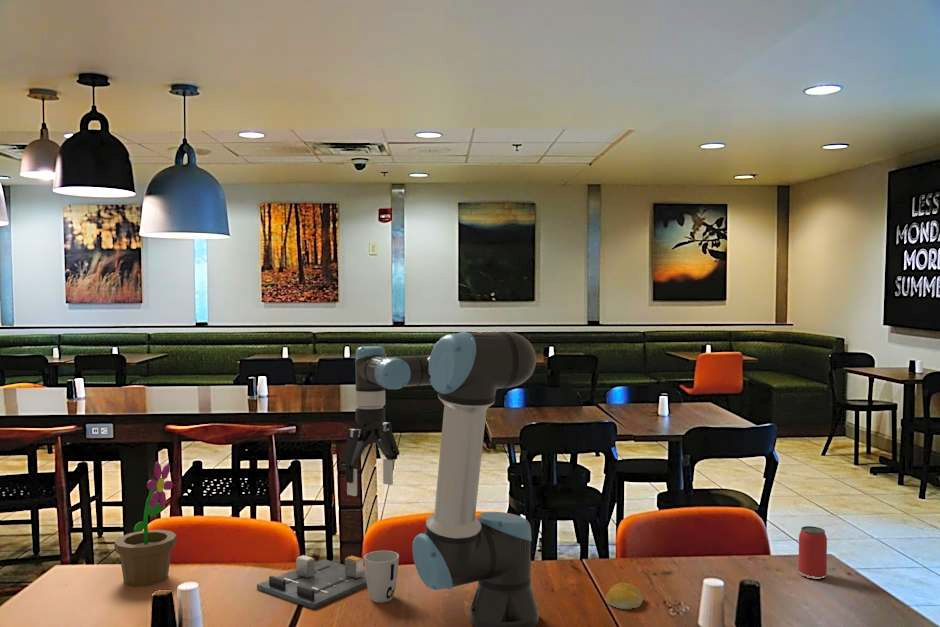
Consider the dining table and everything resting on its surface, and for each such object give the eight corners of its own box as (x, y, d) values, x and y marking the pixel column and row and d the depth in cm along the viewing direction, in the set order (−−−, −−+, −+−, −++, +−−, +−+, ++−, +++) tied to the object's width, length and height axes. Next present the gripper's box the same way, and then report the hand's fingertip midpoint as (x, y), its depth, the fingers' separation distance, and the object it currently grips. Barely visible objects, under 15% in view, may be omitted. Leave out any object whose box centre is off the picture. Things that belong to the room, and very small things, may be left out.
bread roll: (602, 607, 175) (602, 590, 175) (611, 593, 183) (611, 577, 183) (639, 613, 172) (639, 595, 172) (645, 598, 180) (645, 582, 180)
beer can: (799, 579, 193) (800, 531, 192) (796, 570, 199) (797, 524, 199) (828, 581, 191) (829, 534, 190) (824, 572, 197) (825, 526, 197)
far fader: (314, 575, 190) (314, 558, 190) (307, 577, 188) (307, 560, 188) (303, 571, 193) (303, 554, 193) (296, 574, 191) (296, 557, 191)
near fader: (363, 575, 190) (363, 558, 190) (356, 578, 188) (356, 561, 188) (351, 572, 192) (351, 555, 192) (344, 574, 191) (344, 557, 190)
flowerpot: (158, 591, 183) (157, 467, 183) (102, 588, 185) (101, 465, 184) (187, 569, 198) (186, 454, 197) (135, 567, 199) (134, 453, 199)
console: (379, 580, 191) (379, 567, 191) (313, 609, 173) (313, 595, 173) (324, 563, 202) (324, 551, 202) (256, 589, 185) (256, 576, 185)
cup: (392, 606, 175) (393, 563, 174) (359, 603, 176) (359, 560, 176) (403, 593, 183) (403, 551, 182) (370, 590, 184) (370, 549, 184)
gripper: (391, 400, 207) (391, 477, 207) (324, 411, 186) (324, 497, 187) (412, 402, 203) (412, 481, 203) (346, 414, 182) (346, 502, 183)
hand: (370, 489), depth 195 cm, fingers open, 13 cm apart
